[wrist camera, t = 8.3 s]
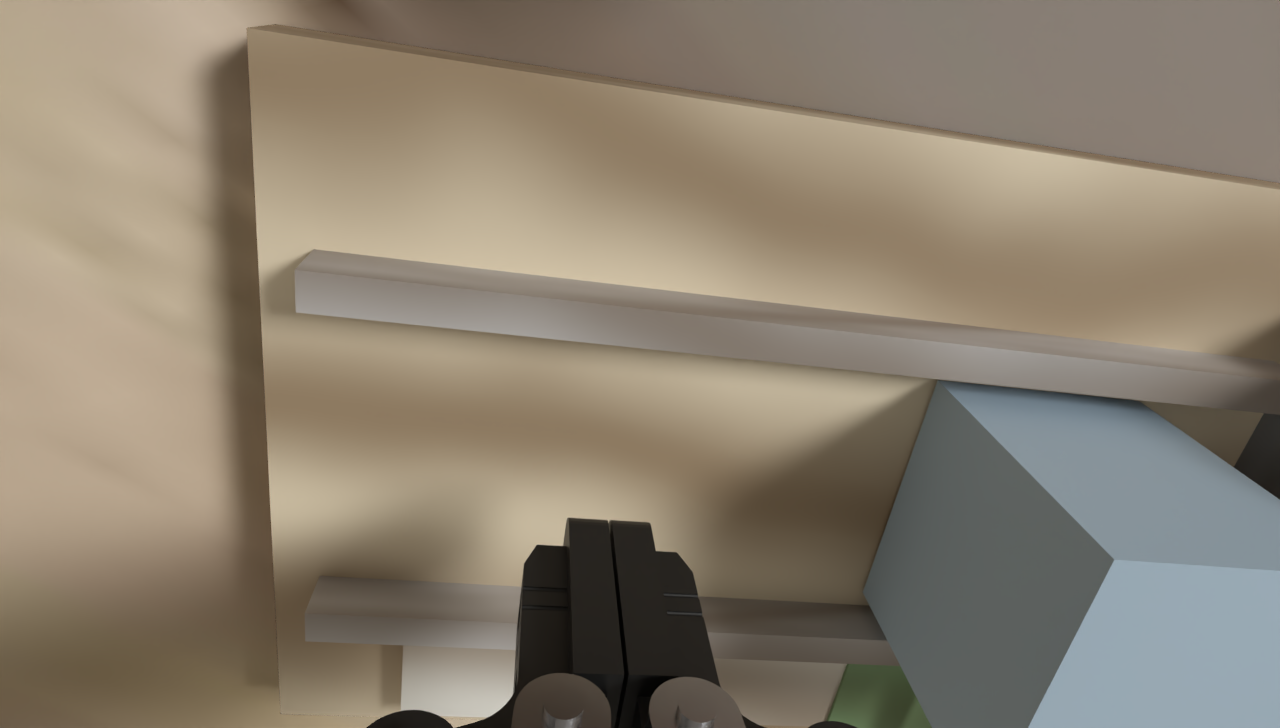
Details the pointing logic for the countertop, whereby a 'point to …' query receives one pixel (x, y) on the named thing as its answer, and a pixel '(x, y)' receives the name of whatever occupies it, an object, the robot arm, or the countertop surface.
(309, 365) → the base
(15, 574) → the countertop surface
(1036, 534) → the gauge slider
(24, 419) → the countertop surface
